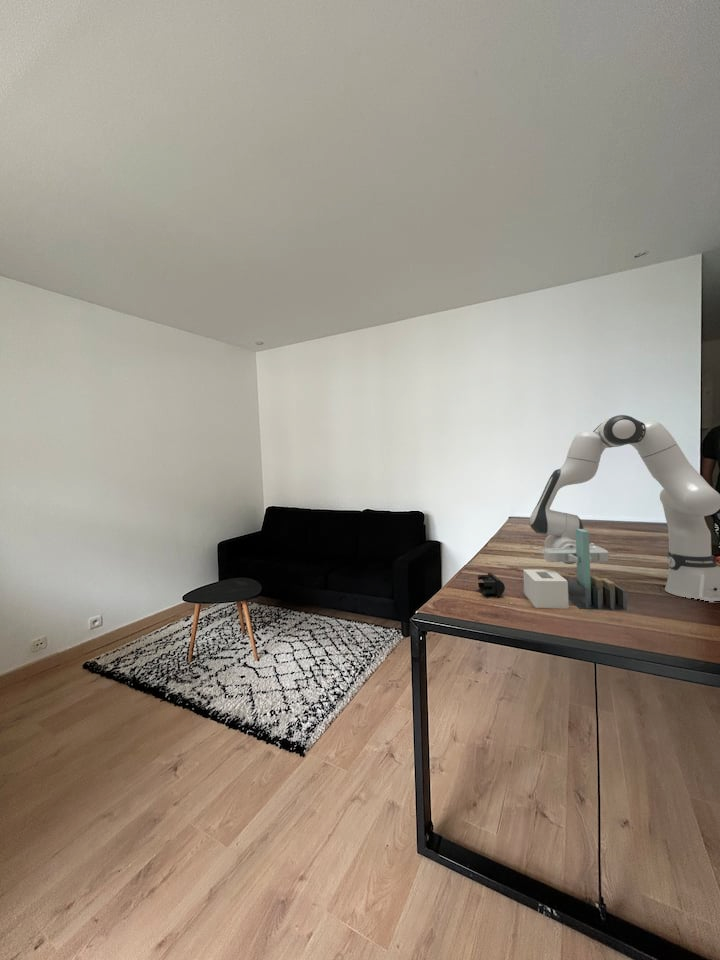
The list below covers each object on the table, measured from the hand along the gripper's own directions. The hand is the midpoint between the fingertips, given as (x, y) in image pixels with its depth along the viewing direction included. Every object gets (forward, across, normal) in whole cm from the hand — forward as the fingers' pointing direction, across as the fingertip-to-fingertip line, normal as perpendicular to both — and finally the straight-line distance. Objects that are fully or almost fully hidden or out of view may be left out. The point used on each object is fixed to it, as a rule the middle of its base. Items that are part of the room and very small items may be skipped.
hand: (584, 560), depth 122 cm
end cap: (-11, -28, +16) cm, 34 cm away
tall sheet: (-1, 0, +14) cm, 14 cm away
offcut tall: (-1, +4, +14) cm, 14 cm away
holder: (-1, -12, +15) cm, 20 cm away
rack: (-1, +4, +15) cm, 16 cm away
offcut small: (-1, +7, +14) cm, 16 cm away
